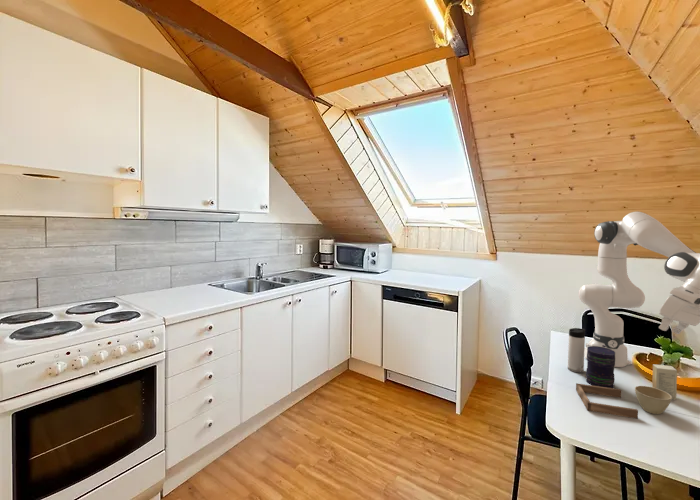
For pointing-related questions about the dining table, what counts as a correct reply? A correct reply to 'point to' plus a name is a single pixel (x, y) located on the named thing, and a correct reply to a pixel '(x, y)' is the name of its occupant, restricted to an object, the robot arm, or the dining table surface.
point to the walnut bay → (603, 407)
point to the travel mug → (576, 350)
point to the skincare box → (665, 379)
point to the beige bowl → (652, 399)
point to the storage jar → (600, 366)
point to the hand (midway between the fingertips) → (668, 331)
